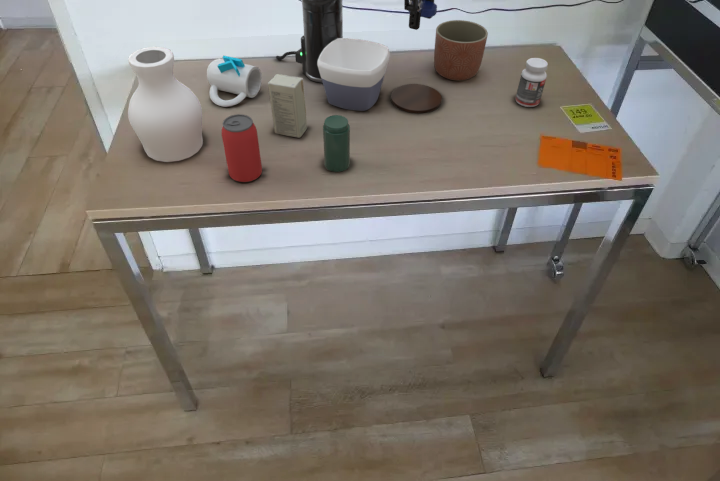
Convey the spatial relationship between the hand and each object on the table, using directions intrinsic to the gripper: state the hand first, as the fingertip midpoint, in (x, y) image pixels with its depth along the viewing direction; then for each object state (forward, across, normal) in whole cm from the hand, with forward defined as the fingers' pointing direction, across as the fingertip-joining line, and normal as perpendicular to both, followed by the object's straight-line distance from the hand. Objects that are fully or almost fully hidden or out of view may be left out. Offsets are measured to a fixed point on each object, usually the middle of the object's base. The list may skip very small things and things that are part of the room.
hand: (420, 22), depth 119 cm
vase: (+19, -42, +36) cm, 58 cm away
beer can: (+19, -42, +17) cm, 49 cm away
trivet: (+19, +1, 0) cm, 19 cm away
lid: (-3, 0, 0) cm, 3 cm away
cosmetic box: (+19, -25, +18) cm, 36 cm away
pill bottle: (+19, +14, -23) cm, 33 cm away
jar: (+19, -30, +3) cm, 35 cm away
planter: (+19, +18, -3) cm, 27 cm away
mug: (+19, -20, +39) cm, 48 cm away
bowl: (+19, -6, +13) cm, 24 cm away
